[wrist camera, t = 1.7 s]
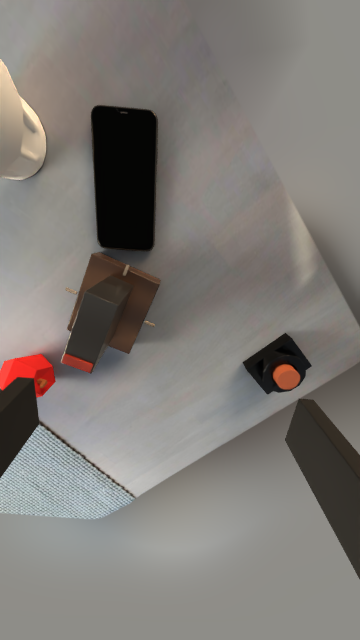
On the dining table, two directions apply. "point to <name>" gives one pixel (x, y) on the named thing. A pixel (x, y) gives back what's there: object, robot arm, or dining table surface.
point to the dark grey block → (96, 323)
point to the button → (286, 376)
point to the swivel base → (137, 301)
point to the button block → (276, 362)
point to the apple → (28, 372)
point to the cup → (18, 133)
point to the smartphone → (125, 176)
